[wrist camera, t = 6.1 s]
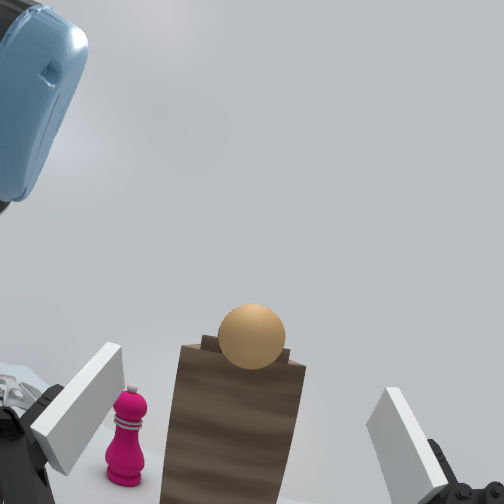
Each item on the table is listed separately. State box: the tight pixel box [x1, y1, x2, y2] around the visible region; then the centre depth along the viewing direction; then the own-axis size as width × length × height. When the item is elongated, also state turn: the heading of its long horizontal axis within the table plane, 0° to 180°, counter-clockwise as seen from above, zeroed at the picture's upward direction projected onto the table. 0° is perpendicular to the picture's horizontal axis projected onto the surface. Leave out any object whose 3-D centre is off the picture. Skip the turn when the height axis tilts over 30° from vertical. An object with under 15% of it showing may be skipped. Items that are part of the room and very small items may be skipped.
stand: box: [160, 328, 306, 504], centre depth 26 cm, size 17×10×32 cm, turn 2°
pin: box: [219, 304, 285, 369], centre depth 25 cm, size 24×3×3 cm, turn 2°
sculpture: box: [0, 374, 42, 409], centre depth 45 cm, size 18×20×6 cm
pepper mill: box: [105, 384, 147, 486], centre depth 39 cm, size 7×7×20 cm
